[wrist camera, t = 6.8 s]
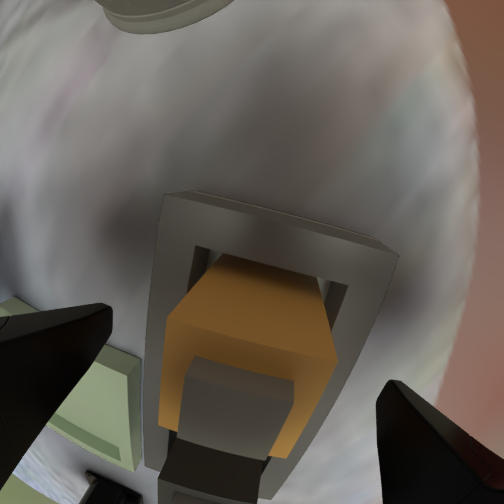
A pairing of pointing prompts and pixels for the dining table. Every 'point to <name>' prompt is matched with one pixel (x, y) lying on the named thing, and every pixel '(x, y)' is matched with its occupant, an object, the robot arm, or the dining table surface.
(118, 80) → the dining table surface
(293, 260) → the power strip
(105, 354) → the tray
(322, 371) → the plug
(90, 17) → the dining table surface
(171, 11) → the grey pitcher
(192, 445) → the twin plug
